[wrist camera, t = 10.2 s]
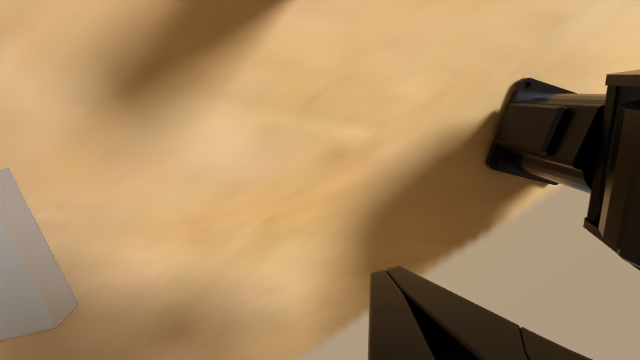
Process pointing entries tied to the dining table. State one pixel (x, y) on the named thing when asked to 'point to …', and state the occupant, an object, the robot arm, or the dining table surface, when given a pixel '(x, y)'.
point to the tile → (27, 270)
